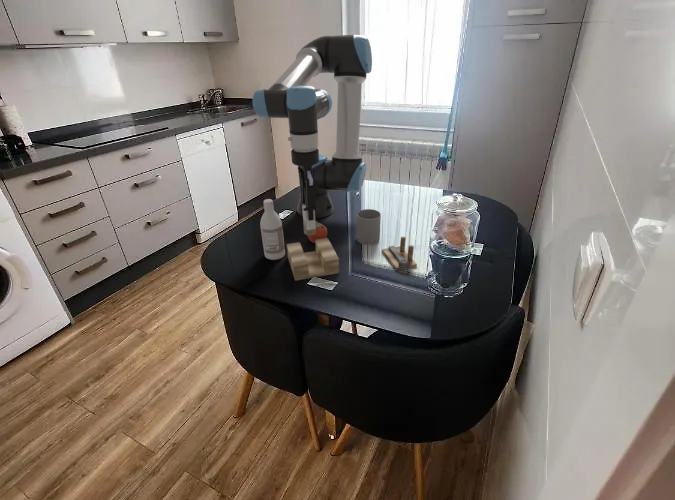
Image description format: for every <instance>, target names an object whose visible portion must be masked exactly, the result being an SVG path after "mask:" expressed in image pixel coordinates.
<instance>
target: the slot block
mask: <svg viewBox="0 0 675 500" xmlns="http://www.w3.org/2000/svg"><path fill="white" fill-rule="evenodd" d="M314 245H315V250H314V251H309V252H304V249H303V247H302V244H301V242H292V243H286V251H287V252H286V253H287V258H288V262H289V265H290V269H291V271H292V274H293V275H292V276H293V279H294V281H301V280H306V279H312V278H319V277H323V276H324V277H325V276H329V275H334V274H339V273H340V258H339V256H338V255H337V252H336V250H335V248H334V246H333V245H332V243H331V242H330V239H329V238H328V237H326V238H324V239H317V240H315V243H314Z"/></svg>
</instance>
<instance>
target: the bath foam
mask: <svg viewBox="0 0 675 500" xmlns="http://www.w3.org/2000/svg"><path fill="white" fill-rule="evenodd" d="M274 206H275V205H274V201H273V199H271V198H267V199H264V200H263V208H264V212H263V214H262V216H261V218H260V223H259V224H260V225H259V227H260V232H261V239H262V248H263V253H264V257H265V258H266V259H268V260H272V261H273V260H274V261H275V260H280V259H282V258H283V257H285V255H286V249H285V248H286V247H285V241H284V240H285V239H284V230H283V224H282V223H283V222H282V219H281V217H280V216H279V214H278V213H277V212H276V211H275V207H274Z"/></svg>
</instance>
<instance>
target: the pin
mask: <svg viewBox="0 0 675 500" xmlns="http://www.w3.org/2000/svg"><path fill="white" fill-rule="evenodd" d="M303 208H306V205H305V204H303V205H302V210H303ZM302 219H303V220H302V221H303V223H302V224H303V234H304V235H306V236H307V235H313V234H315V233H316V229H311V230H307V229H306V217H305V211H304V210H303V217H302Z"/></svg>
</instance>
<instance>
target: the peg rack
mask: <svg viewBox="0 0 675 500" xmlns="http://www.w3.org/2000/svg"><path fill="white" fill-rule="evenodd" d="M406 239H407V238H406V236H401V237H400V243H399V245H398V246H394V245H389V246H388V248H387V247H386V248H382V250H381V252H382V254H384V257H385V258H386V259H387V260H388V262H389V264H391V265H392V267H393V268H394V270H396V271H402V270H406V269H411V268H417V266H418V264H417V262H415V260H414V259H413V258H414V249H415V248H414V247H415V246H414V245H412V244H409V245H408V247H407V248H408V251H406Z"/></svg>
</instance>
